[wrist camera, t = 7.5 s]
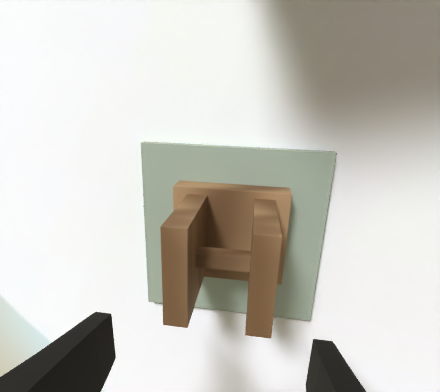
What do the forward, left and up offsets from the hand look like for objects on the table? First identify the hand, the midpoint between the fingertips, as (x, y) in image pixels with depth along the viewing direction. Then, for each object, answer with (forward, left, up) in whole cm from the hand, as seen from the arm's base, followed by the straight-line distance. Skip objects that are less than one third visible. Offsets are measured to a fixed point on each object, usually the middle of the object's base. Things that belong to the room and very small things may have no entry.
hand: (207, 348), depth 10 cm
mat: (0, 0, -10) cm, 10 cm away
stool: (0, 0, -10) cm, 10 cm away
